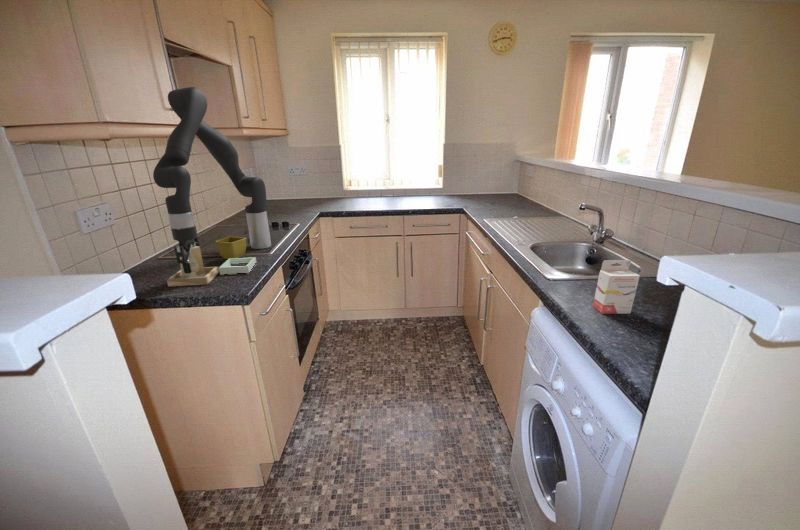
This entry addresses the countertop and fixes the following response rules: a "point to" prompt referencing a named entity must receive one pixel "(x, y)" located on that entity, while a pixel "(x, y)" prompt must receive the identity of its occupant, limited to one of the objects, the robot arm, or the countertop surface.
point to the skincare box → (194, 264)
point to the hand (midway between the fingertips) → (192, 269)
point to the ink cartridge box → (615, 288)
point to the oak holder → (180, 281)
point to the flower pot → (231, 247)
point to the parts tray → (229, 269)
